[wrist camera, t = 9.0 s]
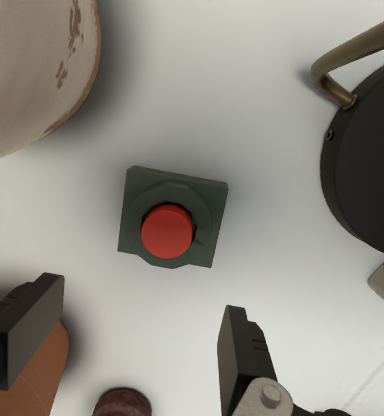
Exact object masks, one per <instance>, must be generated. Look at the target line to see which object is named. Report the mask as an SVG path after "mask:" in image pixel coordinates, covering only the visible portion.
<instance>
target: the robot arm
mask: <svg viewBox="0 0 384 416" xmlns="http://www.w3.org/2000/svg"><path fill="white" fill-rule="evenodd" d="M63 296H64V276H63V275H57V274H52V273H46V272H45V273H43V274H42V275H41V276H40V277H39V278H38V279H37V280H35V281H34V282H33V283H31V282H27V283H25V284H23V285H20V286H18V287H16V288H15V289H13V290H12V291H11V292H10V293H9V294H8V295H7V296H6V298H5V297H4V298H3V299H2V300H1V301H0V390H3V391H8V390H9V389H10V388H11V386H12V385H13V383H14V382H15V381H16V379H17V378H18V376H19V375H20V374H21V372H22V371H23V370H24V368H25V367H26V365H27V364H28V363H29V361H30V360H31V358H32V357H33V356H34V354H35V353H36V352H37V350H38V349H39V347H40V346H41V345H42V343H43V342H44V340H45V339H46V338H47V336H48V335H49V334H50V332H51V331H52V329H53V328H54V327H55V325H56V324H57V322H58V321H59V319H60V316H61V313H62V309H63ZM217 355H218V369H219V383H220V398H221V412H222V416H317V415H315V414H313V413H310V412H308V411H306V410H304V409H302V408H300V407H298V406H297V405H295V404H294V403H293V400H292V398H291V396H290V394H289V393H288V391H287V390H286V389H285V388H284V387H283V386H282V385H281V384H279V383H278V381H277V377H276V374H275V370H274V367H273V364H272V360H271V357H270V354H269V352H268V347H267V344H266V340H265V337H264V334H263V331H262V330H261V329H260V327H259V326H258V325H257V324H256V322H250V321H248V320H247V316H246V311H245V308H242V307H236V306H231V305H227V306H226V308H225V312H224V316H223V320H222V324H221V328H220V332H219V336H218V343H217ZM322 416H351V415H350V414H348V413H346V412H344V411H341V410H338V409H328V410H326V411H325V412H324V413H323V414H322Z"/></svg>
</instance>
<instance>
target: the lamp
mask: <svg viewBox="0 0 384 416" xmlns="http://www.w3.org/2000/svg"><path fill="white" fill-rule="evenodd" d="M383 49H384V22H382V23H380V24H378V25H376V26H374V27H373V28H371V29H369V30H367V31H365V32H363V33H362V34H360V35H358V36H356V37H354V38H352V39H351V40H349V41H347V42H345V43H343V44H342V45H340V46H338V47H336V48H335V49H333V50H331V51H329V52H328V53H326V54H325V55H323V56H322V57H320V58H319V59H318V60H317V61H315V62H314V63H313V64H312V67H311V70H310V75H311V79H312V81H313V83H314V84H315V86H316V87H317V88H318V89H319V90H320V91H322V92H323V93H324V94H325V95H327V96H328V97H329V98H331V99H332V100H334V101H335V102H337V103H338V104H339V105H341V108H340V109H339V111H338V112H337V114H336V116H335V118H334V120H333V121H332V123H331V126H330V128H329V130H328V133H327V136H326V139H325V142H324V146H323V151H322V156H321V182H322V188H323V192H324V196H325V198H326V201H327V204H328V206H329V208H330V210H331V212H332V213H333V215H334V216H335V218H336V219H337V221H338V222H339V223H340V224H341V225H342V226H343V227H344V228H345V229H346V230H347V231H348V232H349V233H351V234H352V235H353V236H355V237H356V238H358V239H360V240H362V241H363V242H365V243H367V244H368V245H370V246H371V247H373V248H375V249H377V250H378V251H381V252H383V253H384V66H383V67H381V68H380V69H378V70H377V71H375V72H374V73H373V74H371V75H370V76H369V77H368V78H366V79H365V80H364V81H363V82H362V83H361V84H360V85H359V86H358V87H357V88H356V89H355V90H354V91H353V92H352V93H350V92H348V91H347V90H346V89H344V88H343V87H342V86H340V85H339V84H338V83H337V82H335V81H334V80H333V79H332V78H331V76H330V75H329V74H328V72H330V71H332V70H334V69H336V68H338V67H341V66H343V65H346V64H348V63H350V62H353V61H355V60H358V59H360V58H363V57H365V56H368V55H370V54H373V53H375V52H378V51H380V50H383Z"/></svg>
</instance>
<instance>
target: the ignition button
mask: <svg viewBox="0 0 384 416" xmlns="http://www.w3.org/2000/svg"><path fill="white" fill-rule="evenodd" d="M192 231H193V225H192V221H191V218H190V216H189V215H188V214H187V212H186V211H185V210H183V209H182V208H180V207H178V206H175V205H161V206H159V207H157V208H155V209H153V210H152V211H151V212H150V214H149V215H148V217H147V218H146V220H145V222H144V224H143V226H142V229H141V238H142V241H143V244H144V246H145V247H146V249H147V250H148V251H149V252H150V253H152V254H153V255H155V256H157V257H160V258H174V257H177V256H180V255H181V254H183V253H184V252H185V251H186V250H187V249H188V247H189V246H190V243H191V240H192Z"/></svg>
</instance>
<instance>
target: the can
mask: <svg viewBox="0 0 384 416" xmlns="http://www.w3.org/2000/svg"><path fill="white" fill-rule="evenodd" d="M92 416H151V409H150V407H149V405H148V403H147V401H146V400H145V399H144V398H143V397H142V396H141V395H140V394H138V393H136V392H134V391H131V390H127V389H117V390H114V391H110V392H109V393H107V394H106V395H104V396H103V397H102V398H101V399H100V400H99V401H98V403H97V404H96V407H95V409H94V412H93V415H92Z"/></svg>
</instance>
